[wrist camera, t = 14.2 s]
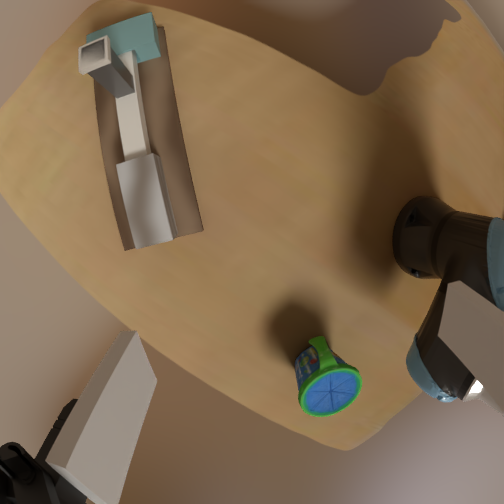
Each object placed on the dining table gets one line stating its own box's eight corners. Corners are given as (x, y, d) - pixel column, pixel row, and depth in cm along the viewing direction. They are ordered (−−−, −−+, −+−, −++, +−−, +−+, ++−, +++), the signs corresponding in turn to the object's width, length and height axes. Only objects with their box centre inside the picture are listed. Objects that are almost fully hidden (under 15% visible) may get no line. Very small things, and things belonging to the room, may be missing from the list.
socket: (157, 28, 30) (151, 11, 26) (161, 56, 32) (154, 41, 27) (98, 48, 30) (86, 35, 25) (99, 77, 31) (86, 65, 26)
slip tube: (136, 47, 30) (107, -4, 16) (158, 182, 35) (124, 180, 21) (116, 54, 30) (80, 7, 16) (136, 188, 35) (93, 191, 21)
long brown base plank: (164, 30, 32) (158, 10, 26) (203, 229, 40) (201, 237, 34) (95, 54, 31) (81, 38, 25) (127, 248, 39) (113, 259, 33)
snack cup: (282, 330, 46) (299, 364, 36) (340, 318, 47) (367, 347, 37) (287, 396, 49) (300, 432, 39) (337, 383, 50) (357, 416, 40)
